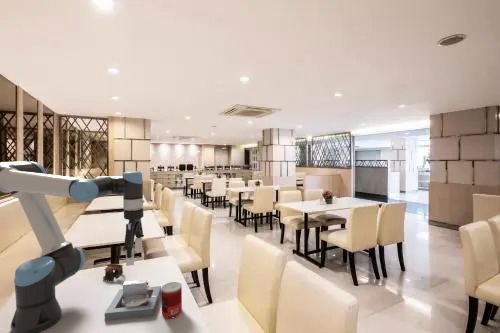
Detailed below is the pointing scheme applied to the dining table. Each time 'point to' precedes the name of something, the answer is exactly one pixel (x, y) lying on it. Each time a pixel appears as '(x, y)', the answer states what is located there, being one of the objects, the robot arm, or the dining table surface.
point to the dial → (135, 294)
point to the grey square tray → (133, 312)
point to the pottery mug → (110, 274)
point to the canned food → (171, 299)
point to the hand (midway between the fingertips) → (134, 258)
